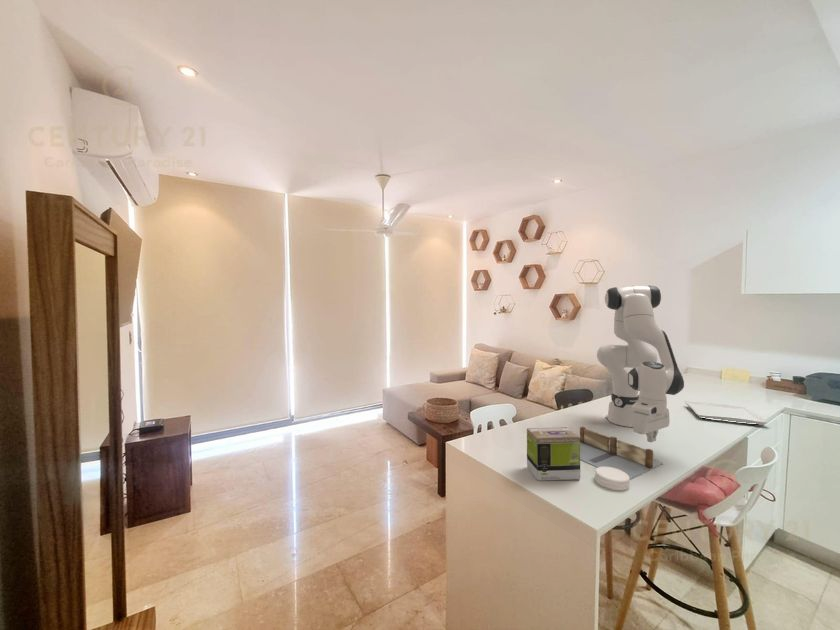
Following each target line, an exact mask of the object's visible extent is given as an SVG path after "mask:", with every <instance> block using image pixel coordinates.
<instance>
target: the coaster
mask: <svg viewBox="0 0 840 630" xmlns="http://www.w3.org/2000/svg"><path fill="white" fill-rule="evenodd" d="M594 480H595V482H596V483H597V484H598V485H600V486H602V487H603V488H605V489H608V490H612V491H617V492H618V491H619V492H622V491H623V492H624V491H627V490H629V488H630V486H631V485H630V484H631V482H630V480H631V479H630V478H629V476H628V475H627V474H626V473H625V472H623V471H621V470H619V469H616V468H612V467H598V468H597V467H595V470H594Z"/></svg>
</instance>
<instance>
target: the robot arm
mask: <svg viewBox="0 0 840 630" xmlns="http://www.w3.org/2000/svg"><path fill="white" fill-rule="evenodd" d="M661 301H662V293H661V290H660V288H658V287H657V286H656V285H655V286H654V285H628V286H627V285H626V286H621V287H611V288H608V289H607V290H606V293H605V296H604V303H605V305H606V307H607V308H608V309H609V310H614V319H613V321H614V322H613V323H614V324H613V334H614V335H615V336H616V338H618V339H620V340H623V341H624V342H626V343H627V345H622V344H621V345H619V344H607V345H601V346H600V347H599V348H598V350H596V358H597V361H598V362H599V363H600V364H601V365H603V367H605V368H606V370H607V371H608V372H609V374H610V377H611V381H612V382H611V383H612V392H611V395H610V398H611V399H610V400H611V401H610V402H609V403H608V410H607V414H606V415H605V418H606V419H607V421H609V422H610V423H612V424H615V425H617V426H622V427H629V428H632V430H633V432H634V433H636V434H639V435H645V436H646V441H647V442H648V443H650V444H651V443H655V442H657V436H658V433H659V430H662V429H665V428H667V427H670V420H671V419H670V411H669V410H670V409H669V408H667V405H668V404H667V403H668V399H667V395H669V396H670V395H672V396H675V395H677V394H679V393H681V392H682V390H683V389H684V387H685V381H684V378H683V377H684V376H683V374H682V373H681V371H680V369H679V367H678V363H677V361H676V358H675V355H674V352H673V348H672V345H671V343H670V340H669V338H668V335H667V333H666V332H665V330H662V329H661V328H660V327H659V326H658V324H657V323H656V320H655V314H654V309H656V308H657V307H658V306H660V303H661ZM649 345H651V346H652V347H654V348H655V349H656V351H657V353H656V351H655V350H654V349H653V348H652V347H650V346H649ZM658 357H659V359H660V362H657V361H658ZM625 368H631V369H630V370H629V371H628V372H626V371H625Z"/></svg>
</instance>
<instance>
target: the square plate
mask: <svg viewBox="0 0 840 630" xmlns="http://www.w3.org/2000/svg"><path fill="white" fill-rule="evenodd" d="M684 403H685V404H686V405H687V407H688V408H689V409H691V410H692V411H693V412H694V413H695V415H696V414H697V415H698V416H699V417H698V416H697V415H696V416H697V417H698V418H700V417H705V418H713V419H721V420H728V421H736V422H746V423H756V424H759V425H758V426H763V425H766V424H767V423H769V422H768V421H767V420H766V419H764V418H762V416H759V415H758V414H756V413H755V412H753V411H751V410H750V409H748V408H746V407H743V406H737V405H730V404H729V405H728V404H720V403H712V402H711V403H710V402H700V401H698V402H697V401H684ZM689 404H693V405H705V406H713V407H722V408H731V409H743V410H745V411H746V412H747V413H748V414H750V415H751V416H752V417H754V418H755V419H757V420H758V421H754V420H748V419H741V418H732V417H721V416H707V415H699V414H698V413H697V411H696V410H695V409H694V408H693V407H692V406H690V405H689Z"/></svg>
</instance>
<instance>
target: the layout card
mask: <svg viewBox="0 0 840 630" xmlns="http://www.w3.org/2000/svg"><path fill="white" fill-rule="evenodd" d="M617 450H618V446H617ZM580 462H584V463H587V464H588V465H591V466H593V467H595V468H598V467H612V468H616V469H619V470H621V471H623V472H625V473H626V474H627V475H628V476H629V478H630V480H633V479H634V478H636V477H639V476H641V475H643V474H645V473H647V472H650V471H651V470H653V469H655V468H657V467H660V466H662V465H664V462H661V461H658V460H657V459H653V468H647V467H646V466H645V465H643V464H640V463H638V462H635V461H632V460H630V459H627V458H625V457H622V456H619V455H617V454H616V455H613V454H610V443H609V451H606V450H603V449H601V448H598V447H595V446H593V445H590V444H587V443H581V442H580Z"/></svg>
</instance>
